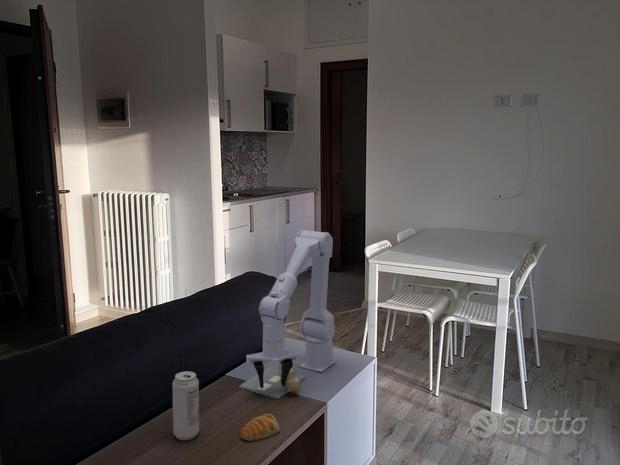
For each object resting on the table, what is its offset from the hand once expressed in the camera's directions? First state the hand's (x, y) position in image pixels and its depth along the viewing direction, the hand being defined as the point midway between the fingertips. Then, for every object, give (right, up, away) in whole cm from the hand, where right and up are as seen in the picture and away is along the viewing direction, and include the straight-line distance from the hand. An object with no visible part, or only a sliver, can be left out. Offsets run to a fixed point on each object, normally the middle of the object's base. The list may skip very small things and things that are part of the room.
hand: (272, 385), depth 148 cm
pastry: (-1, -6, -20) cm, 21 cm away
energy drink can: (-19, -6, -21) cm, 29 cm away
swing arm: (+4, 0, +6) cm, 7 cm away
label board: (0, -1, +7) cm, 7 cm away
